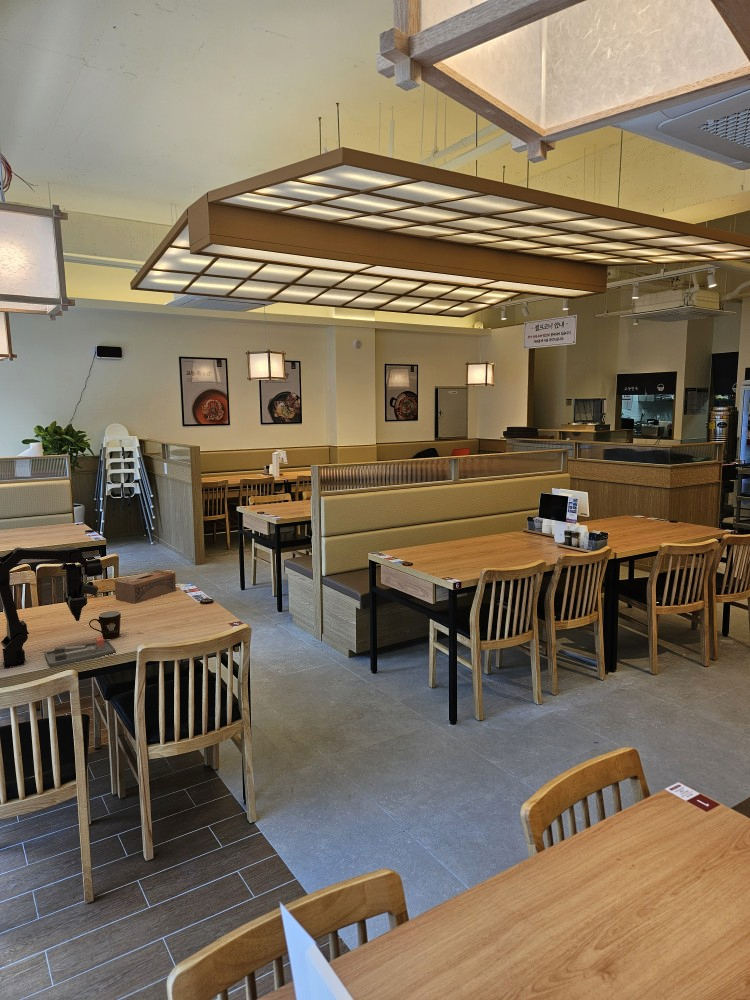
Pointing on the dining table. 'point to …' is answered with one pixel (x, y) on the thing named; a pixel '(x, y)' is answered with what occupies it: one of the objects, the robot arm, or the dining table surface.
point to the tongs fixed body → (79, 652)
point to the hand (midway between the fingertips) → (75, 617)
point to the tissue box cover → (145, 586)
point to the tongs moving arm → (68, 649)
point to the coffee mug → (109, 624)
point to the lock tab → (99, 641)
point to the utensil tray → (52, 663)
